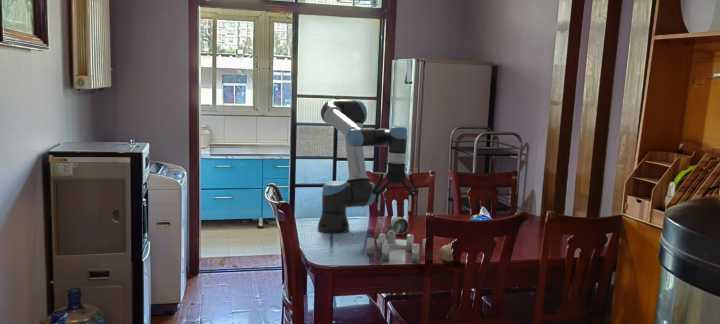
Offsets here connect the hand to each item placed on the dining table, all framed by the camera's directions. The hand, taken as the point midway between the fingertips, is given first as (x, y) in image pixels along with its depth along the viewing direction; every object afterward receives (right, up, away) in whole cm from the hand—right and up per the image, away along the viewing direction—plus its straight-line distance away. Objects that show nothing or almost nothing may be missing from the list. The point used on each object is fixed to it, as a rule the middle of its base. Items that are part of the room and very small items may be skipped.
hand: (394, 210), depth 236 cm
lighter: (0, -14, +2) cm, 15 cm away
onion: (+21, -19, -18) cm, 33 cm away
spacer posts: (+1, -17, -14) cm, 23 cm away
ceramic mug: (+3, -13, +24) cm, 28 cm away
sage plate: (0, -16, +2) cm, 16 cm away
